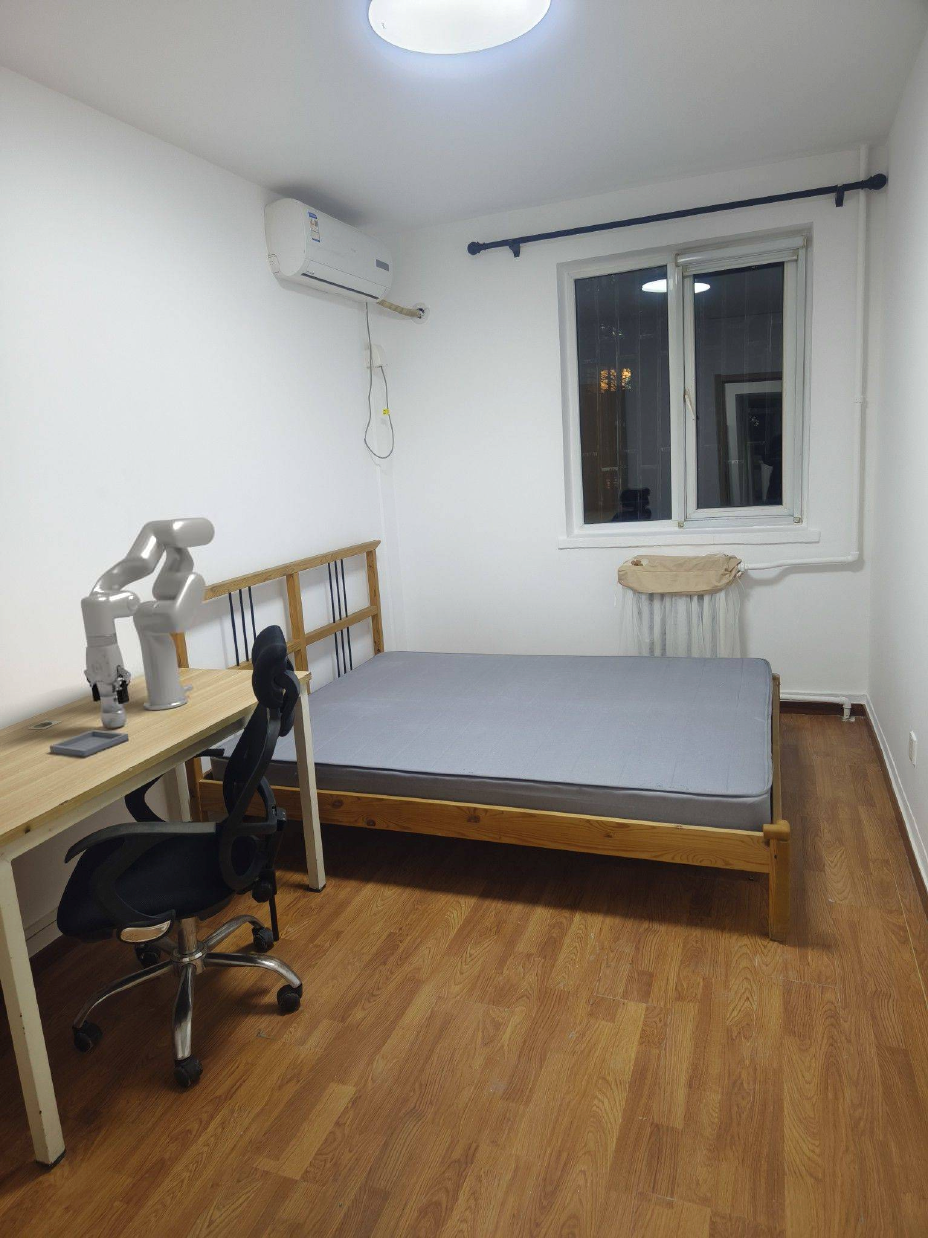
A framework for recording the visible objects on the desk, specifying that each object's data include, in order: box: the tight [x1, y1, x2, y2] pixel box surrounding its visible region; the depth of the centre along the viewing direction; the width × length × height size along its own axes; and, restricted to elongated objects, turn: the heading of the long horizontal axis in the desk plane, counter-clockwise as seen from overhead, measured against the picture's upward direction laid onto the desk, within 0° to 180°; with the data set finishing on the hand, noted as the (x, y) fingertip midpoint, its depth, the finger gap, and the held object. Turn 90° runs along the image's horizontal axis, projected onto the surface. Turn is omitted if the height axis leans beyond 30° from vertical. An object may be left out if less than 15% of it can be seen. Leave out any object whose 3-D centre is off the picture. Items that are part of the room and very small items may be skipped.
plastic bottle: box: [95, 674, 128, 729], centre depth 216 cm, size 6×7×20 cm
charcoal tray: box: [49, 729, 130, 759], centre depth 202 cm, size 13×13×2 cm
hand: (111, 701), depth 216 cm, fingers open, 9 cm apart
